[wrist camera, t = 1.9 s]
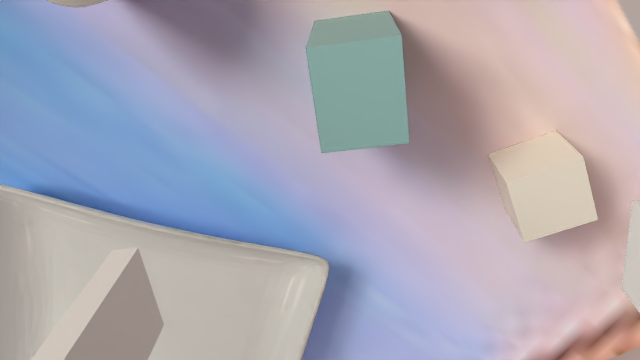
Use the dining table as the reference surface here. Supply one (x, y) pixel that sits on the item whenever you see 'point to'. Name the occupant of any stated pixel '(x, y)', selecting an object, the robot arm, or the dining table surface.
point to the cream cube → (544, 186)
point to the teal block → (358, 82)
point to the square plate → (154, 282)
